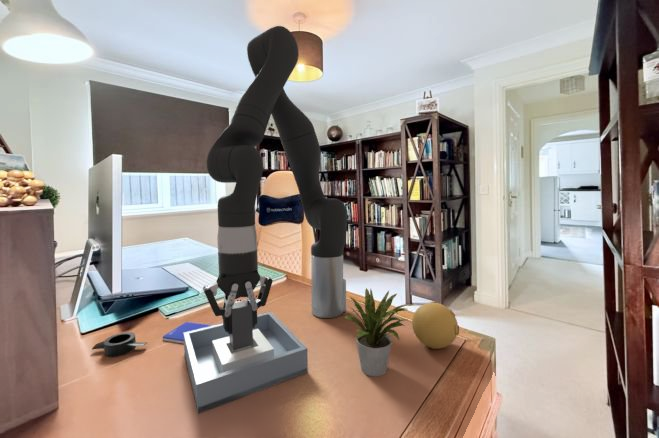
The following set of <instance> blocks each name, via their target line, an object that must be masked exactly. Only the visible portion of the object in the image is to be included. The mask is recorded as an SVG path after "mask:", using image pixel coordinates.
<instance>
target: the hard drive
mask: <svg viewBox="0 0 659 438" xmlns="http://www.w3.org/2000/svg"><path fill="white" fill-rule="evenodd" d="M209 326H213V325H211V324H205V323H197V322H192V321H191V322H190V321H185V322H184V323H181V324H180V325H179V326H177V327H175V328H174V329H172V330H170V331H169V332H167V333H165V334H164V335H163V336H162V341H167V342H172V343H178V344H179V343H180V344H184V335H183V333H184V332H188V331H192V330H197V329H201V328H205V327H209Z"/></svg>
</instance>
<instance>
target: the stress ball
mask: <svg viewBox="0 0 659 438" xmlns="http://www.w3.org/2000/svg"><path fill="white" fill-rule="evenodd" d="M411 320H412V321H411V324H412V325H411V327H412V330H413V333H414V334H415V337H416V338H417V339H418V341H420V343H422V344H423V345H424V346H426V347H428V348H430V349H432V350H439V349H444V348H448V347H449V346H450V345H452V344H453V342H455V340H456V338H457V336H459V335H460V325H458V321H457V317H456V314H455V313H454V311H453V310H452V309H451V308H448V307H447V306H445V304H443V303H440V302H427V303H424V304H422V305H420V306H419V307H418V308H417V309H416V310H415V312H414V313H413V316H412V319H411Z"/></svg>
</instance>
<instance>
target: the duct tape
mask: <svg viewBox="0 0 659 438" xmlns="http://www.w3.org/2000/svg"><path fill="white" fill-rule="evenodd" d="M147 344H148V342H139V341H138V342H136V334H135V333H134V332H130V331H126V332H121V333H115V334H114V335H111V336H109V337H107V338H106V339H105V340H104V341H101V342H98V343H95V345H93V347H92V348H91V350H93V351H94V350H99V349H100V350H103V349H104V350H103V352H104V356H105V357H106V358H107V357H108V358H117V357H121V356H124V355H127V354H129V353H131V352H133V351H134V350H135V349H136V347H140V346H145V345H147Z"/></svg>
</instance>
